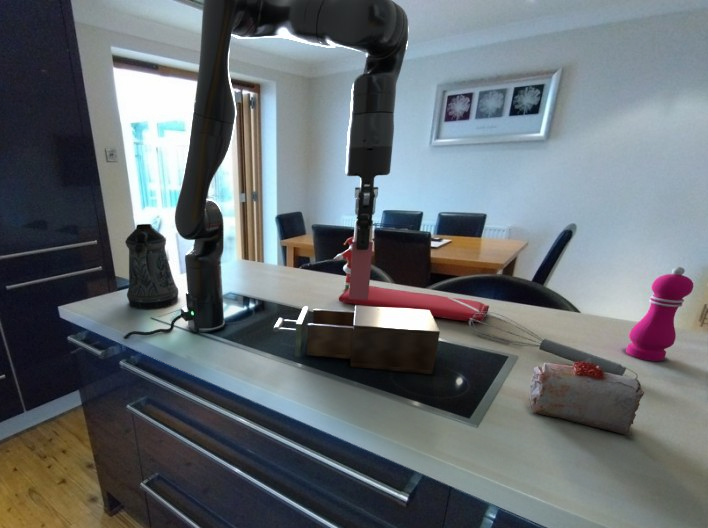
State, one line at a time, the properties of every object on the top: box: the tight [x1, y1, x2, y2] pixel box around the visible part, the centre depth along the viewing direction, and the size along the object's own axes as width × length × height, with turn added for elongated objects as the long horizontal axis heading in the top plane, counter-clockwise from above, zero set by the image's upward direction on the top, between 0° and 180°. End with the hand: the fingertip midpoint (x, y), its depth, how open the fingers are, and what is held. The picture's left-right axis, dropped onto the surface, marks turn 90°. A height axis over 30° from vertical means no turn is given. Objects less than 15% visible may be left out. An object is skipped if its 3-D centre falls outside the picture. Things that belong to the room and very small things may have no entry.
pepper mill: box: [625, 266, 694, 362], centre depth 83 cm, size 7×7×20 cm
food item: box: [529, 359, 645, 436], centre depth 64 cm, size 14×8×10 cm, turn 57°
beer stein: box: [124, 223, 179, 310], centre depth 124 cm, size 16×19×25 cm
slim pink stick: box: [349, 219, 374, 300], centre depth 74 cm, size 4×3×15 cm
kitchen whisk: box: [468, 311, 638, 380], centre depth 88 cm, size 6×34×6 cm, turn 34°
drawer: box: [272, 306, 355, 360], centre depth 90 cm, size 21×12×8 cm, turn 76°
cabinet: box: [349, 305, 441, 375], centre depth 86 cm, size 17×14×10 cm
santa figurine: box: [333, 236, 354, 292], centre depth 136 cm, size 25×6×19 cm, turn 140°
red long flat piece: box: [338, 285, 490, 323], centre depth 120 cm, size 16×41×4 cm, turn 54°
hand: (362, 247), depth 73 cm, fingers closed on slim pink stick, 3 cm apart
